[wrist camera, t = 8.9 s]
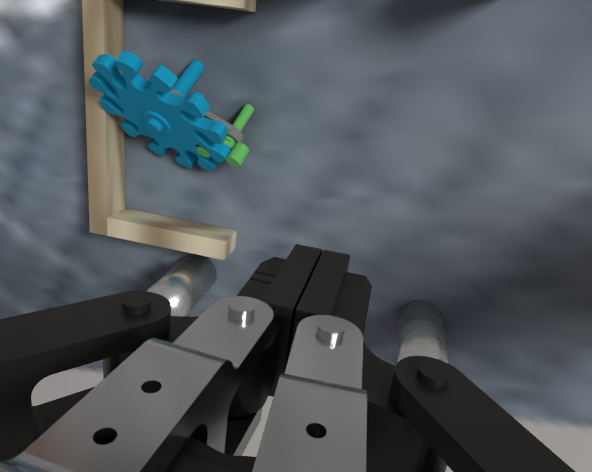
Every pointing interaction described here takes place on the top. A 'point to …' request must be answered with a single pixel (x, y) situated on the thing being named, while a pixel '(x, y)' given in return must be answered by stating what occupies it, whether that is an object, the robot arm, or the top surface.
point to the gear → (169, 111)
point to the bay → (110, 149)
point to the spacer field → (412, 319)
